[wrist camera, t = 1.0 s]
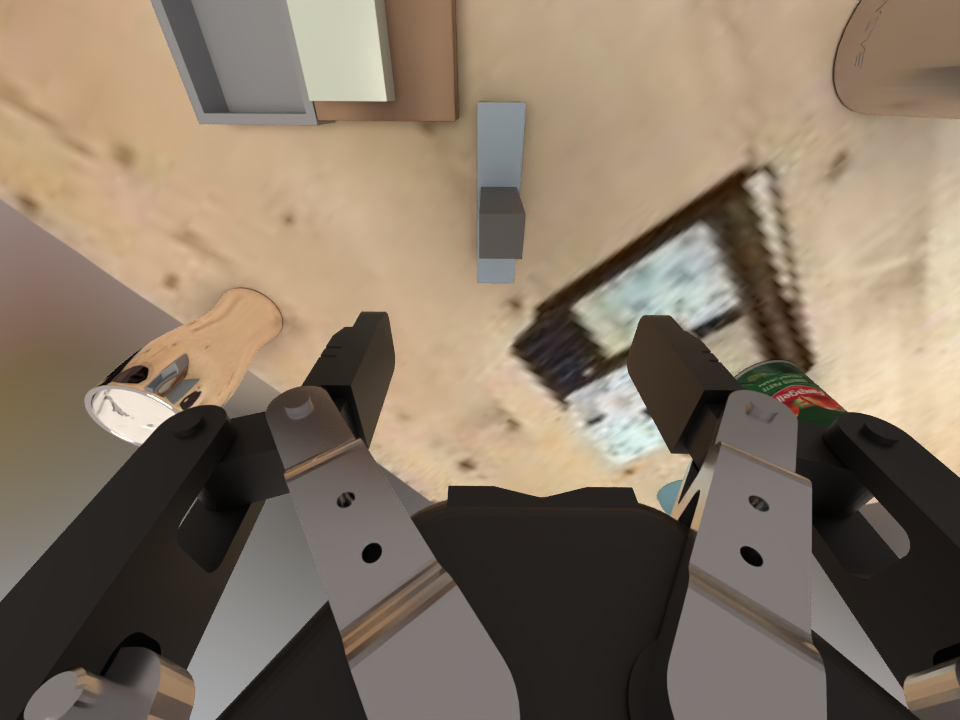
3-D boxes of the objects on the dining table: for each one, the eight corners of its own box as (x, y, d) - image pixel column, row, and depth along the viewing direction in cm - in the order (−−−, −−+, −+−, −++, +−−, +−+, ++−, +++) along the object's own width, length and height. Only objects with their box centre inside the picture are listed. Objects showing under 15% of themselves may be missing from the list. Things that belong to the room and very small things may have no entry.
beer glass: (285, 293, 35) (182, 396, 23) (289, 348, 39) (203, 459, 27) (210, 275, 34) (61, 373, 22) (222, 333, 38) (101, 443, 26)
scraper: (519, 101, 26) (539, 105, 16) (510, 260, 33) (520, 328, 23) (478, 101, 26) (474, 104, 16) (478, 260, 33) (475, 328, 23)
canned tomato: (782, 347, 38) (871, 422, 30) (809, 384, 41) (896, 462, 33) (712, 387, 42) (772, 464, 33) (741, 418, 45) (803, 497, 36)
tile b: (384, 0, 20) (372, -10, 18) (395, 100, 22) (386, 101, 20) (304, 0, 20) (283, -10, 18) (325, 100, 22) (309, 100, 20)
